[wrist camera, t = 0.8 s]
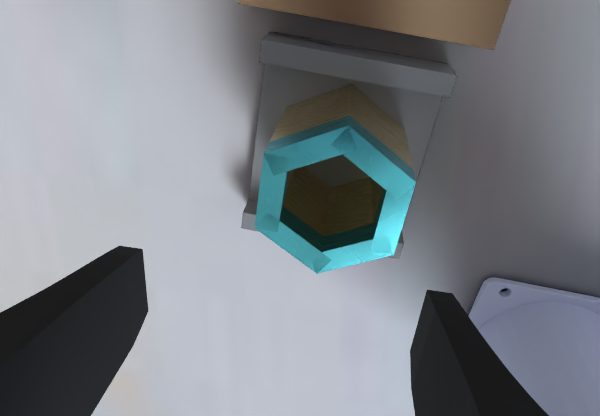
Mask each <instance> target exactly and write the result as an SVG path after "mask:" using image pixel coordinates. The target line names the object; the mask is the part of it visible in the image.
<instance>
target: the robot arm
mask: <svg viewBox="0 0 600 416" xmlns="http://www.w3.org/2000/svg"><path fill="white" fill-rule="evenodd" d="M504 288H508V290H507V291H504V292H501V291H500V290H501V289H504ZM147 312H148V303H147V293H146V282H145V271H144V261H143V250H142V249H138V248H131V247H124V246H118V247H116V248H114V249H113V250H111V251H109V252H107V253H105V254H104V255H102V256H100V257H99V258H97V259H95V260H94V261H92V262H90V263H89V264H87V265H85V266H84V267H82V268H80V269H79V270H77V271H75V272H73V273H72V274H70V275H68V276H67V277H65V278H63V279H62V280H60V281H58V282H56V283H55V284H53V285H51V286H50V287H48V288H46V289H44V290H42V291H40V292H39V293H37V294H35V295H33V296H31V297H29V298H27V299H25V300H24V301H22V302H20V303H18V304H16V305H14V306H12V307H10V308H9V309H7V310H5V311H3V312H1V313H0V416H91V414H92V413H93V411H94V409H95V408H96V406H97V405H98V403H99V401H100V400H101V398H102V396H103V395H104V393H105V391H106V390H107V388H108V386H109V385H110V383H111V382H112V380H113V378H114V377H115V375H116V373H117V372H118V370H119V368H120V367H121V365H122V363H123V362H124V360H125V358H126V357H127V355H128V353H129V352H130V350H131V348H132V346H133V345H134V342H135V340H136V338H137V336H138V334H139V331H140V329H141V327H142V324H143V322H144V320H145V317H146V315H147ZM410 356H411V388H412V396H413V403H414V409H415V416H600V298H598V297H593V296H588V295H583V294H578V293H573V292H568V291H563V290H557V289H552V288H547V287H542V286H537V285H532V284H527V283H522V282H516V281H511V280H506V279H501V278H493V277H492V278H489V279H487V280H485V281H484V282H483V284H482V286H481V288H480V291H479V293H478V295H477V297H476V300H475V302H474V304H473V306H472V309H471V311H470V313H469V316H468V315H467V313H466V312H465V311H464V309H463V308H462V306H461V305H460V303H459V302H458V301H457V299H456V298H455V297H454V295H453V294H452V293H446V292H439V291H432V290H427V292H426V296H425V299H424V303H423V306H422V310H421V314H420V317H419V321H418V325H417V328H416V332H415V335H414V339H413V343H412V346H411V350H410Z"/></svg>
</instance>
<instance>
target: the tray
mask: <svg viewBox="0 0 600 416" xmlns="http://www.w3.org/2000/svg"><path fill="white" fill-rule="evenodd" d="M259 62H260V63H264V70H263V79H262V88H261V97H260V105H259V114H258V123H257V132H256V141H255V150H254V158H253V167H252V176H251V185H250V194H249V200H248V202H247V205H246V207H245V209H244V211H243V216H242V226H241V228H243V229H249V230H254V231H258V230H257V229H256V228H255V220H256V212H257V204H258V196H259V188H260V180H261V172H262V164H263V156H264V152H265V150H266V148H267V146H268V143H269V141H270V139H271V137H272V135H273V133H274V131H275V129H276V127H277V125H278V123H279V121H280V119H281V117H282V115H283V113H284V111H285V109H286V107H287V106H289V105H292V104H295V103H298V102H300V101H303V100H306V99H309V98H312V97H315V96H317V95H320V94H323V93H326V92H329V91H332V90H335V89H337V88H340V87H343V86H346V85H349V84H352V83H353V84H354V85H355V86H356V87H357V88H358V89H360V90H361V91H362V92H363V93H364V94H365V95H366V96H368V97H369V98H370V99H371V100H372V101H373V102H375V103H376V104H377V105H378V106H379V107H380V108H381V109H383V110H384V111H385V112H386V113H387V114H388V115H389V116H391V117H392V118H393V119H394V120H395V121H396V122H398V123H399V124H400V125H401V126H402V127H403V128H404V129H405V134H406V138H407V143H408V147H409V152H410V157H411V161H412V166H413V170H414V175H415V179H416V182H417V179H418V175H419V172H420V169H421V166H422V162H423V159H424V156H425V153H426V149H427V146H428V143H429V140H430V136H431V133H432V130H433V127H434V123H435V120H436V117H437V114H438V111H439V107H440V104H441V101H442V98H443V96H444V97H449V98H450V96H451V93H452V90H453V87H454V84H455V81H456V78H457V75H456V73H455V72H454V70H453V69H452V68H451V66H450V65H449V64H444V63H439V62H433V61H428V60H423V59H417V58H412V57H406V56H401V55H395V54H390V53H384V52H379V51H373V50H368V49H362V48H357V47H352V46H346V45H341V44H335V43H330V42H324V41H319V40H313V39H308V38H302V37H297V36H291V35H286V34H280V33H275V32H269V33H268V34H267V35H266V36H265V37H264V38H263V39H262V40H261V49H260V59H259ZM304 167H305V168H306V169H307V170H309V171H310V172H311V173H312V174H314V175H315V176H316V177H317V178H319V179H320V180H321V181H322V182H324V183H325V184H326V185H328V186H329V187H330V188H332V187H335V186H339V185H342V184H346V183H349V182H352V181H356V180H359V179H363V178H366V177H370V176H368V175H367V174H366V173H365V172H364V171H362V170H361V169H360V168H359V167H357V166H356V165H355V164H354V163H353V162H351V161H350V160H349V159H348V158H346V157H345V156H344V155H343V154H342V155H339V156H335V157H332V158H329V159H326V160H322V161H319V162H316V163H313V164H309V165H306V166H304ZM415 185H416V184H415ZM413 192H414V191H413ZM412 195H413V194H412ZM411 198H412V197H411ZM409 205H410V204H409ZM408 208H409V207H408ZM407 211H408V210H407ZM404 221H405V220H404ZM403 224H404V223H403ZM259 232H260V231H259ZM403 245H404V241H403V234H402V230H401V233H400V236H399V240H398V243H397V246H396V249H395V252H394V255H391V256H387V257H392V258H397V259H399V257H400V254H401V251H402V248H403Z"/></svg>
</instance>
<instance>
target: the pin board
mask: <svg viewBox="0 0 600 416" xmlns="http://www.w3.org/2000/svg"><path fill="white" fill-rule="evenodd" d="M510 1H511V0H239V2H238V4H244V5H249V6H255V7H260V8H266V9H271V10H277V11H282V12H288V13H293V14H299V15H304V16H310V17H315V18H321V19H326V20H332V21H337V22H343V23H348V24H354V25H359V26H365V27H370V28H376V29H381V30H387V31H392V32H398V33H403V34H409V35H414V36H420V37H425V38H431V39H436V40H442V41H447V42H453V43H459V44H464V45H470V46H475V47H481V48H486V49H492V50H494V47H495V44H496V41H497V38H498V36H499V33H500V30H501V27H502V24H503V21H504V18H505V15H506V12H507V9H508V7H509V4H510Z"/></svg>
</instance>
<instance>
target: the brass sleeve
mask: <svg viewBox="0 0 600 416" xmlns="http://www.w3.org/2000/svg"><path fill="white" fill-rule="evenodd" d="M342 154H343V155H344V156H345V157H346V158H348V159H349V160H350V161H351V162H353V163H354V164H355V165H356V166H357V167H359V168H360V169H361V170H362V171H364V172H365V173H366V174H367V175H368V176H370V177H366V178H363V179H359V180H356V181H352V182H349V183H346V184H342V185H339V186H335V187H332V188H330V187H329V186H328V185H326V184H325V183H324V182H322V181H321V180H320V179H319V178H317V177H316V176H315V175H314V174H312V173H311V172H310V171H309V170H307V169H306V168H305V167H304V166H306V165H309V164H313V163H316V162H319V161H322V160H326V159H329V158H332V157H335V156H339V155H342ZM415 184H416V179H415V175H414V170H413V166H412V161H411V157H410V152H409V147H408V143H407V138H406V134H405V129H404V128H403V127H402V126H401V125H400V124H399V123H398V122H396V121H395V120H394V119H393V118H392V117H391V116H389V115H388V114H387V113H386V112H385V111H384V110H383V109H381V108H380V107H379V106H378V105H377V104H376V103H375V102H373V101H372V100H371V99H370V98H369V97H368V96H366V95H365V94H364V93H363V92H362V91H361V90H360V89H358V88H357V87H356V86H355V85H354V84H353V83H352V84H349V85H346V86H343V87H340V88H337V89H335V90H332V91H329V92H326V93H323V94H320V95H317V96H315V97H312V98H309V99H306V100H303V101H300V102H298V103H295V104H292V105H289V106H287V107H286V109H285V111H284V113H283V115H282V117H281V119H280V121H279V123H278V125H277V127H276V129H275V131H274V133H273V135H272V137H271V139H270V141H269V143H268V146H267V148H266V150H265V152H264V156H263V164H262V172H261V180H260V188H259V196H258V204H257V212H256V220H255V228H256V229H257V230H258V231H260V232H261V233H262V234H264V235H265V236H266V237H268V238H269V239H271V240H272V241H273V242H275V243H276V244H277V245H279V246H280V247H281V248H283V249H284V250H286V251H287V252H288V253H290V254H291V255H292V256H294V257H295V258H296V259H298V260H299V261H301V262H302V263H303V264H305V265H306V266H307V267H309V268H310V269H311V270H313V271H314V272H316V273H321V272H325V271H329V270H334V269H338V268H342V267H346V266H350V265H354V264H358V263H363V262H367V261H371V260H375V259H379V258H383V257H387V256H391V255H394V252H395V249H396V246H397V243H398V240H399V236H400V233H401V230H402V227H403V223H404V220H405V217H406V214H407V210H408V207H409V204H410V201H411V197H412V194H413V191H414V188H415Z"/></svg>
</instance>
